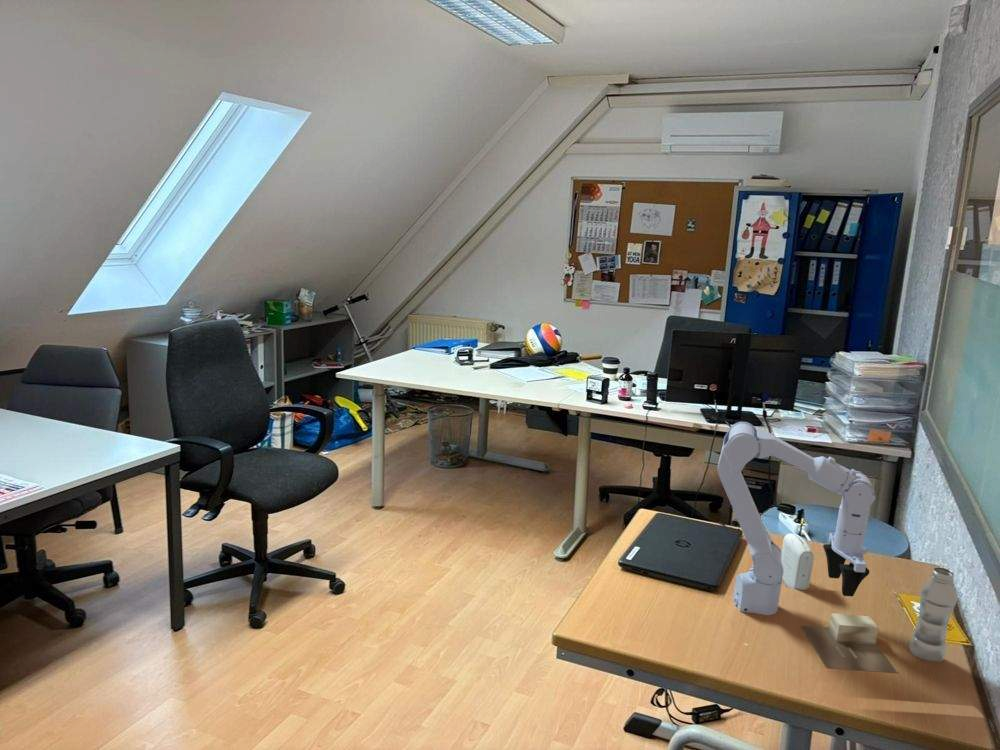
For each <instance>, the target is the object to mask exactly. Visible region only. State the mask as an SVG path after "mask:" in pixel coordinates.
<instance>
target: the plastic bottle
mask: <svg viewBox="0 0 1000 750" xmlns="http://www.w3.org/2000/svg"><path fill="white" fill-rule="evenodd" d="M930 576H931V579H930V580H929V581H928V582H927V583H925V584H924V585H923V587H922V588H921V590H920V600H919V601H920V602H919V612H918V617H917V622H916V626H915V628H914V632H913V633H912V636H911V638H910V640H909V649H908V650H909V651H910V652H911V653H912V654H913V655H914V656H916V657H917V658H918V659H921V660H924V661H928V662H934V663H935V662H938V663H941V662H942V661H943V659H944V657H945V656H946V649H947V648H946V644H947V643H946V639H947V632H948V626H949V623H950V620H951V616H952V614H953V611H954V609H955V606H956V605H957V602H958V598H957V596H958V595H957V593H956V591H955V589H954V587H953V585H952V584H953V582H954V577H955V575H954V572H953V571H952V570H950V569H948V568H945V567H941V566H939V567H938V566H937V567H934V568H933V570H932V573H931V575H930Z"/></svg>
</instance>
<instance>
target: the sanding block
mask: <svg viewBox="0 0 1000 750" xmlns="http://www.w3.org/2000/svg"><path fill="white" fill-rule="evenodd" d="M879 629H880V628H879V627H878V625H877V624H876V623H875V621H874V620H873V618H872V617H871V616H869V615H859V614H858V615H857V614H856V615H855V614H845V613H831V614H830V621H829V631H830V633H831V634H832V636H833V637H834V639H835V640H836V642H844V643H856V644H868V645H875V644H877V638H878V633H879Z"/></svg>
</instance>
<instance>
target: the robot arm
mask: <svg viewBox="0 0 1000 750" xmlns="http://www.w3.org/2000/svg"><path fill="white" fill-rule="evenodd" d="M722 442H723V443H722V447H721V451H720V455H719V459H718V463H717V474H718V477H719V479H720V481H721V484H722V486H723V489H724V490H725V493H726V496H727V498H728V501H729V503H730V505H731V508H732V510H733V512H734V515H735V517H736V520H737V521H738V524H739V526H740V528H741V531H742V533H743V536H744V538H745V540H746V542H747V546H748V549H749V553H750V554H749V555H750V557H751V559H752V562H753V563H752V565H751V566H750V568H749V570H748V571H747V572H745V573H744V572H743V573H737V575H736V576H735V581H734V582H735V583H734V589H733V596H732V598H733V602H734V603H733V604H734V605H735V606H737V607H736V608H738V611H739V612H741V613H751V614H757V615H758V614H759V615H763V616H772V615H775V614H776V613H777V612H778V610H779V602H780V596H781V591H782V583H783V580H782V576H783V573H784V571H783V566H782V561H781V556H782V555H781V552H782V549H781V548H780V547H779V546H778V544H776V543H775V542H774V541H773V539H772V538H771V535H770V534H769V532H768V531H767V530H766V527H765V525H764V522H763V520H762V518H761V515H760V513H759V510H758V508H757V505H756V503H755V501H754V499H753V496H752V495H751V492H750V490H749V487H748V485H747V482H746V480H745V477H744V474H743V473H742V471H743V469H744V467H745V466H746V464H748V463H749V462H750V461H752V460H753V459H754V458H755V457H756V456H757V455H758V459H763V458H768V457H775V458H776V459H779V460H781V461H783V462H786V463H788V464H790V465H792V466H794V467H796V468H798V469H801V470H803V471H804V472H806V473H807V475H808V479H809V480H810V481H812V482H814V483H816V484H818V485H820V486H822V487H823V488H826V489H828V490H829V491H831V492H833V493H834V494H837V495H842V496H841V503H840V505H839V507H838V508H839V509H838V514H837V520H836V526H835V532H829V536H828V542H829V544H827V543H826V544H825V543H824V544H823V546H822V547H823V550H824V552H825V553H824V554H825V558H826V562H827V563H826V564H827V575H828V578H829V579H840V577H841V580H842V581H841V582H842V583H841V594H842V596H844V597H852V598H853V597H854V596H855V593H856V591H857V589H858V588H859V586H860V585H861V583H862V582H863V580H865V578H866V577H867V576H869V575H870V569H868V567H867V563H866V562H865V557H864V554H865V555H866V554H868V550H867V548H866V547H864V542H865V541H864V540H865V536H866V531H867V526H868V520H869V515H870V512H869V511H870V507H871V505H872V504H873V503H874V502H875V500H876V498H877V497H876V495H875V494H876V493H875V488H874V487H873V484H872V482H871V480H870V479H869V477H867V475H865V474H864V473H863V472H862V471H859V470H855V469H854V468H851V469H849V468H847V467H845V466H843V465H841V464H839V463H837V462H836V459H835V458H833V457H832V456H828V458H827V457H826V456H823V455H822V456H817V457H813V456H812V455H810V454H808V453H806V452H804V451H802V450H800V449H798V448H797V447H796V446H793V445H792V444H789V443H788V442H786V441H784V440H782V438H779V437H778V436H777V435H773V434H772V433H770V432H769V431H767V430H765V429H763V428H761V427H758V426H756V427H755V426H754V425H753V424H752V423H749V422H747V421H739V422H736V423H734V424H732V426H730V428H729V429H728V430H727V433H725V435H724V438H723V441H722ZM846 561H848V562H849V563H845V562H846Z"/></svg>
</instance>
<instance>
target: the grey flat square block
mask: <svg viewBox="0 0 1000 750" xmlns="http://www.w3.org/2000/svg"><path fill="white" fill-rule="evenodd" d="M800 627H801V629H802V630H803V632H804V634H805V636H806V637H807V639H808V640H809V642H810V644H811V645H812V647H813V649H814V650H815V652H816V654H818V657H819V658H820V660H821V661H822V663H823V665H824V666H825V668H826V669H834V670H848V671H850V670H851V671H860V672H861V671H862V672H875V673H888V674H889V673H892V674H899V672H898V671H897V669H896V668H895V667H894V666H893V664H892V663H891V661H890V660H889V659H888V658H887V656H886V655H885V653H884V652H883V651H882V650H881V648H880V647H879V645H877V643H876V644H875V645H868V644H856V643H844V642H836V640H835V639H834V637H833V636H832V634H831V633H830V631H829V627H828V626H815V625H814V626H813V625H800Z"/></svg>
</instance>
